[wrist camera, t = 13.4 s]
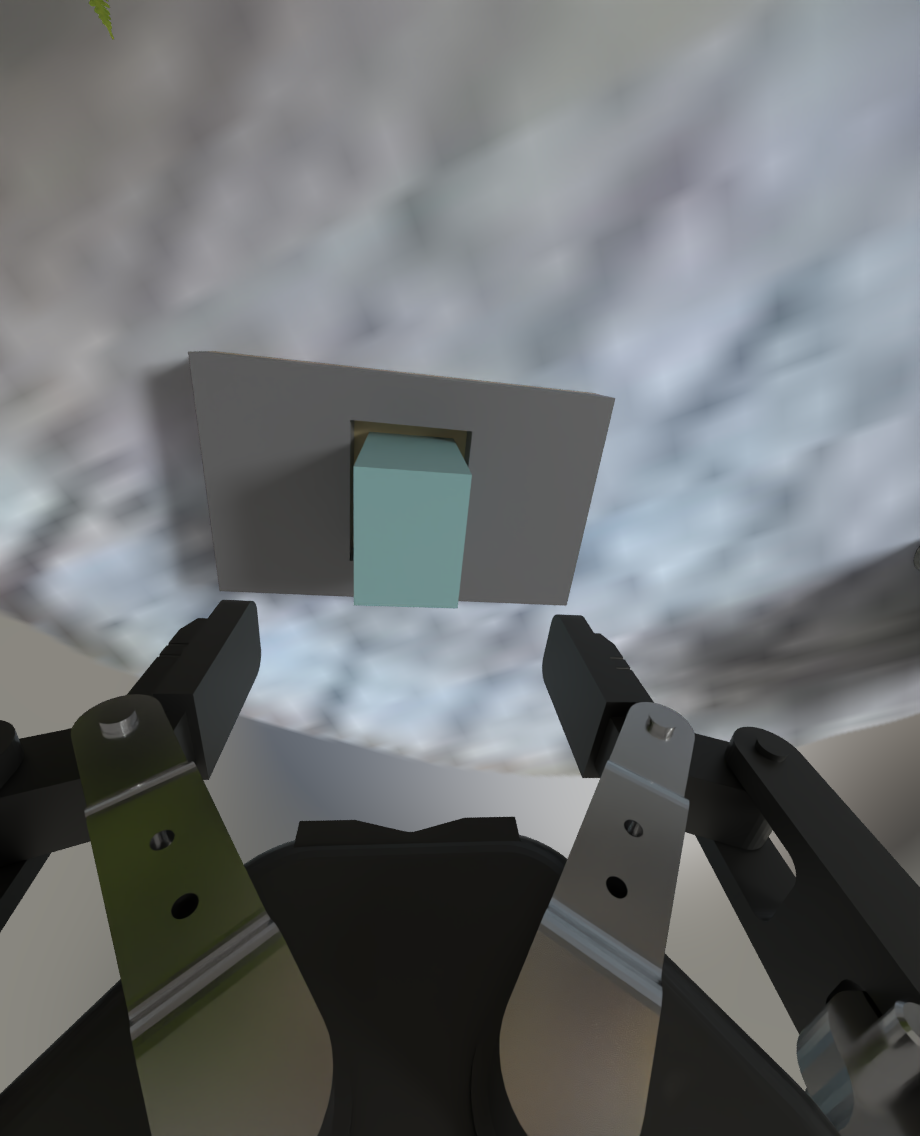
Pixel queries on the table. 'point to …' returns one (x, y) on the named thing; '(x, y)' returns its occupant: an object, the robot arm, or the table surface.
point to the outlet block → (332, 445)
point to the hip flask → (917, 559)
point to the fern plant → (102, 13)
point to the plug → (409, 521)
